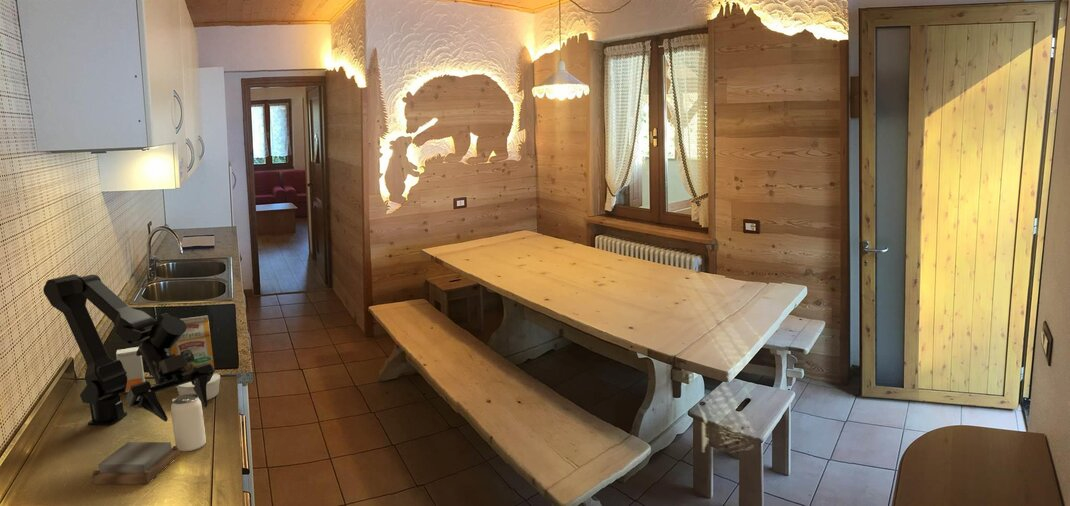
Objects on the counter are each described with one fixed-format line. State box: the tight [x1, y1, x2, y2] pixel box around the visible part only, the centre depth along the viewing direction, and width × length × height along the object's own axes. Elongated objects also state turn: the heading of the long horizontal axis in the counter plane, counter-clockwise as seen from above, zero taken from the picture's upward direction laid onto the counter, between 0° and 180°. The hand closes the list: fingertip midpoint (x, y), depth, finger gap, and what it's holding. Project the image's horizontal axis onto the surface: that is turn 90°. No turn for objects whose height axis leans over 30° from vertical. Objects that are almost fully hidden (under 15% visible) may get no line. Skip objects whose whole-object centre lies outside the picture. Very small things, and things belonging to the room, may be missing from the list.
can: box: [170, 394, 207, 453], centre depth 158 cm, size 6×6×12 cm
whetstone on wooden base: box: [91, 441, 180, 485], centre depth 149 cm, size 12×12×4 cm
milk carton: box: [170, 315, 216, 376], centre depth 200 cm, size 11×11×19 cm
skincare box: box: [115, 346, 146, 394], centre depth 193 cm, size 6×4×12 cm
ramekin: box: [175, 372, 221, 401], centre depth 188 cm, size 11×11×5 cm
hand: (186, 413), depth 158 cm, fingers open, 9 cm apart
